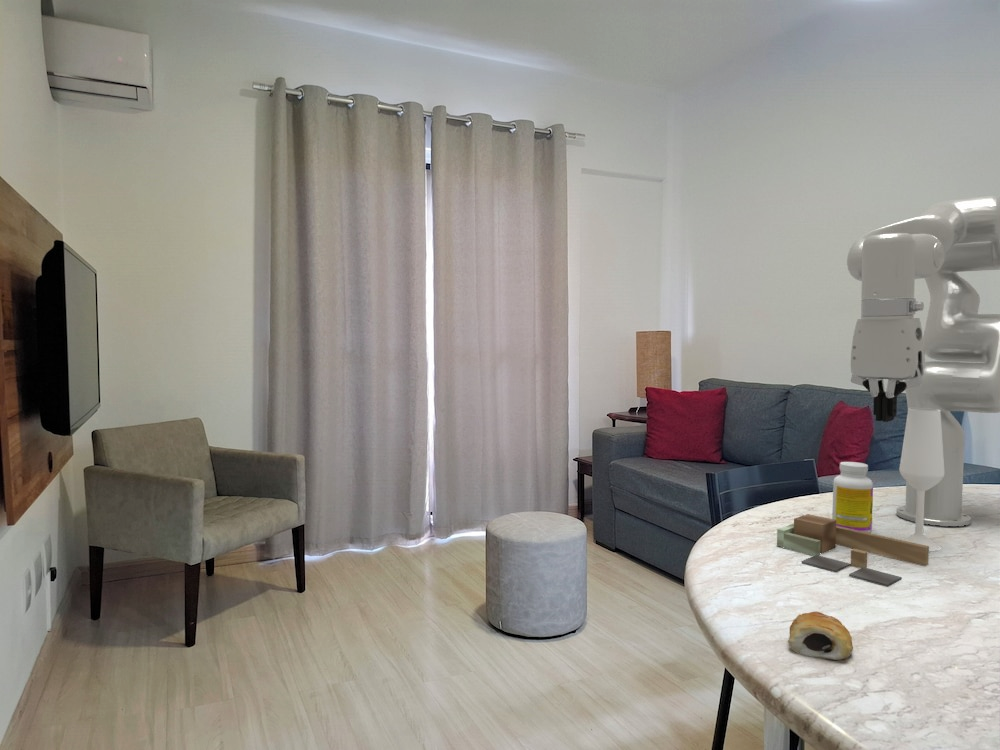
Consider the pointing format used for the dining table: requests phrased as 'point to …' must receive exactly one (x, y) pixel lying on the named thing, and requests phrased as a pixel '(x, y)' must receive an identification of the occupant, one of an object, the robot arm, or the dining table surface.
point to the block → (817, 530)
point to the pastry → (820, 636)
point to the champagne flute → (922, 462)
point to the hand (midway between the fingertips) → (884, 420)
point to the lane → (856, 552)
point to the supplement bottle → (853, 497)
